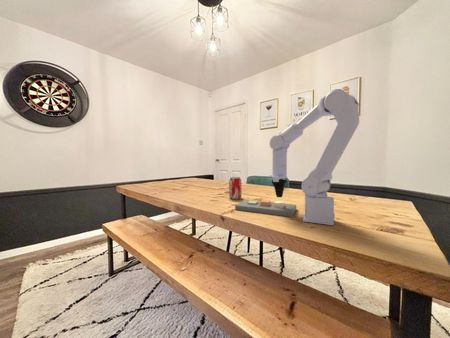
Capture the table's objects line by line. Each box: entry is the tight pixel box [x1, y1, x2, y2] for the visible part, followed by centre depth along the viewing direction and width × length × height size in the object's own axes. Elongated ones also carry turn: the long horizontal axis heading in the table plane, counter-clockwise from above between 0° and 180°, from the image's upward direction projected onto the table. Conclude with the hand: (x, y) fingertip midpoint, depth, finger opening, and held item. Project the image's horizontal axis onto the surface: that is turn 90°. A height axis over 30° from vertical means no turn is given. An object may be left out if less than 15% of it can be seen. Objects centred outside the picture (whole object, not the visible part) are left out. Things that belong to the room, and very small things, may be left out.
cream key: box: [273, 200, 286, 208], centre depth 78 cm, size 4×4×2 cm
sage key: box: [247, 200, 259, 205], centre depth 84 cm, size 4×4×2 cm
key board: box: [234, 199, 297, 218], centre depth 81 cm, size 24×12×2 cm, turn 62°
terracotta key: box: [259, 199, 271, 207], centre depth 81 cm, size 4×4×2 cm
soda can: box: [228, 176, 243, 200], centre depth 105 cm, size 7×7×12 cm
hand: (279, 196), depth 78 cm, fingers closed
